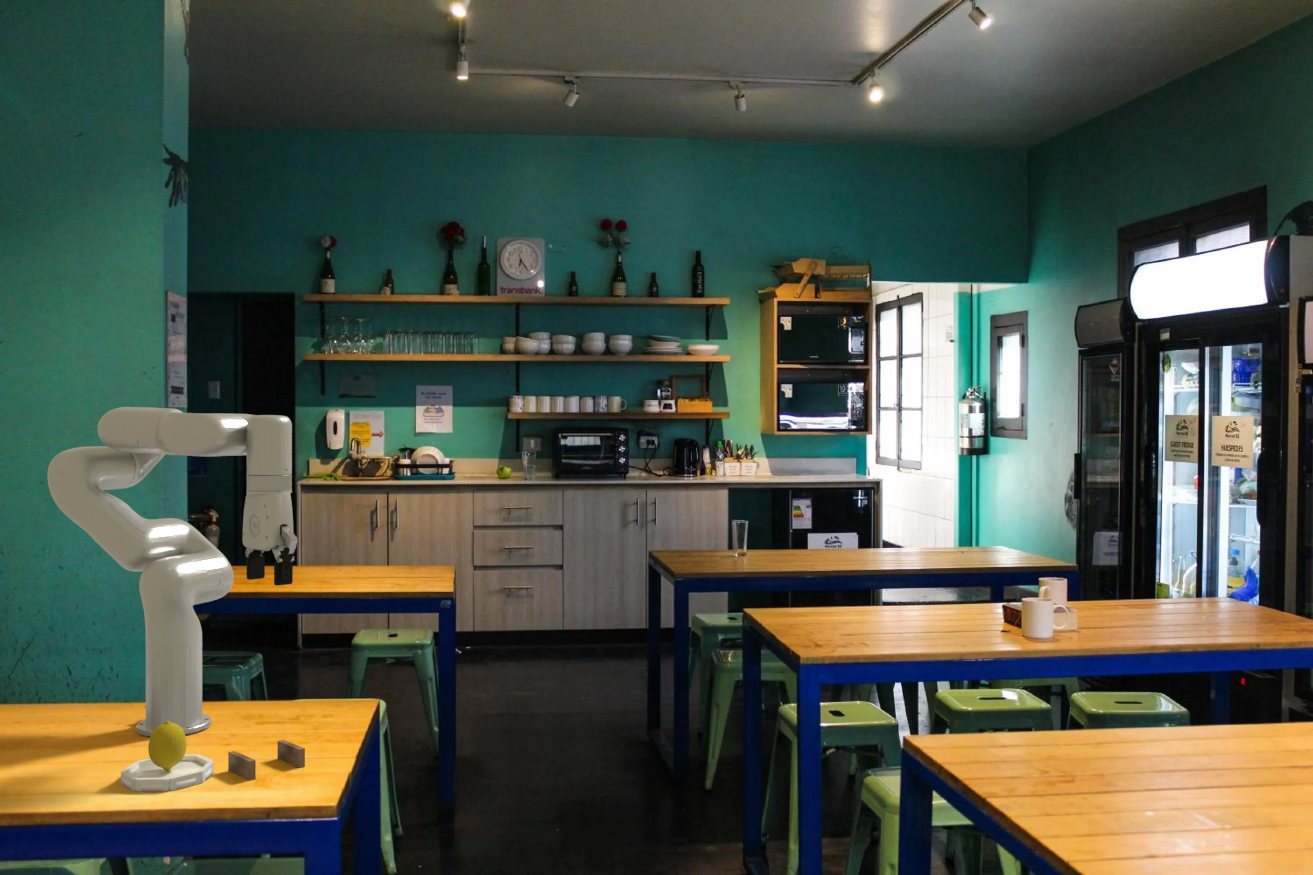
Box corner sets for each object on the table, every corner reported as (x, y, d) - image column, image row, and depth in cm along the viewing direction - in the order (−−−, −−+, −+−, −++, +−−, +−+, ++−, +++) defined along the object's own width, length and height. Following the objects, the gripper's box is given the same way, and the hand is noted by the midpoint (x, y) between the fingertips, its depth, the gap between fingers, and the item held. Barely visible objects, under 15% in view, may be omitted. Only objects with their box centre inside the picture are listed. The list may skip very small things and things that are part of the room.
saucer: (109, 778, 174) (108, 766, 174) (189, 759, 184) (190, 748, 184) (143, 797, 165) (143, 785, 165) (227, 777, 175) (227, 765, 175)
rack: (228, 770, 178) (228, 752, 178) (283, 757, 185) (283, 739, 185) (249, 780, 173) (249, 761, 173) (304, 766, 180) (304, 748, 180)
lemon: (171, 777, 171) (172, 726, 171) (140, 774, 172) (140, 724, 172) (193, 766, 177) (193, 717, 177) (163, 764, 178) (163, 714, 178)
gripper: (225, 483, 197) (225, 578, 197) (274, 488, 185) (274, 589, 185) (265, 482, 202) (264, 574, 203) (314, 486, 191) (314, 584, 191)
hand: (269, 581), depth 194 cm, fingers open, 9 cm apart
